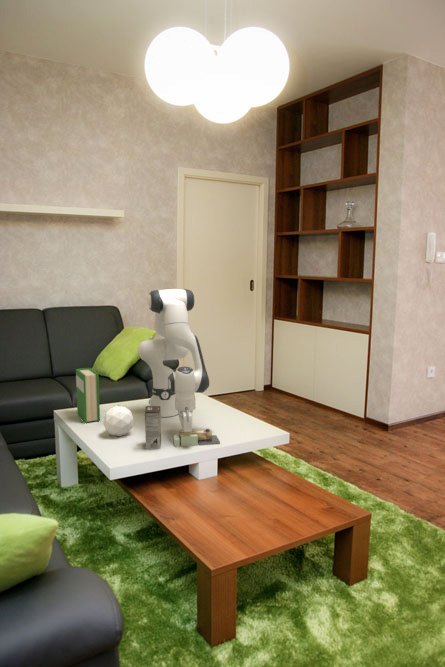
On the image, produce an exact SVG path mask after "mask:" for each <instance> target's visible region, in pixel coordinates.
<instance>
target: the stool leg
mask: <svg viewBox="0 0 445 667" xmlns="http://www.w3.org/2000/svg"><path fill="white" fill-rule="evenodd" d="M192 434H197V436H198V440H210V439H212V435H213V431H212V430H211V429H210V428H205V429H204V430H192V432H183V431H180V432H179V439H180V442H181V435H192Z"/></svg>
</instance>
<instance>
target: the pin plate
mask: <svg viewBox="0 0 445 667" xmlns="http://www.w3.org/2000/svg"><path fill="white" fill-rule="evenodd" d="M220 444H221V442H220V439H219V436H217V435H215V434H212V439H210V440H198V445H199V446H208V445H209V446H210V445H220Z"/></svg>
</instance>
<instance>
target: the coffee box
mask: <svg viewBox="0 0 445 667" xmlns="http://www.w3.org/2000/svg"><path fill="white" fill-rule="evenodd" d="M161 420H162V417H161V408H160V406H149V405H145V410H144V424H145V425H144V426H145V428H144V429H145V430H144V431H145V450H158V449H161V448H162V447H161V446H162V421H161Z"/></svg>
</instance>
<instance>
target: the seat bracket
mask: <svg viewBox="0 0 445 667" xmlns="http://www.w3.org/2000/svg"><path fill="white" fill-rule="evenodd" d="M172 437H173V445H174V447H175V448H176V447H189V446H198V445H199V444H198V436H197V434H192V435H181V441H180V435H178V434H173V436H172Z"/></svg>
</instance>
